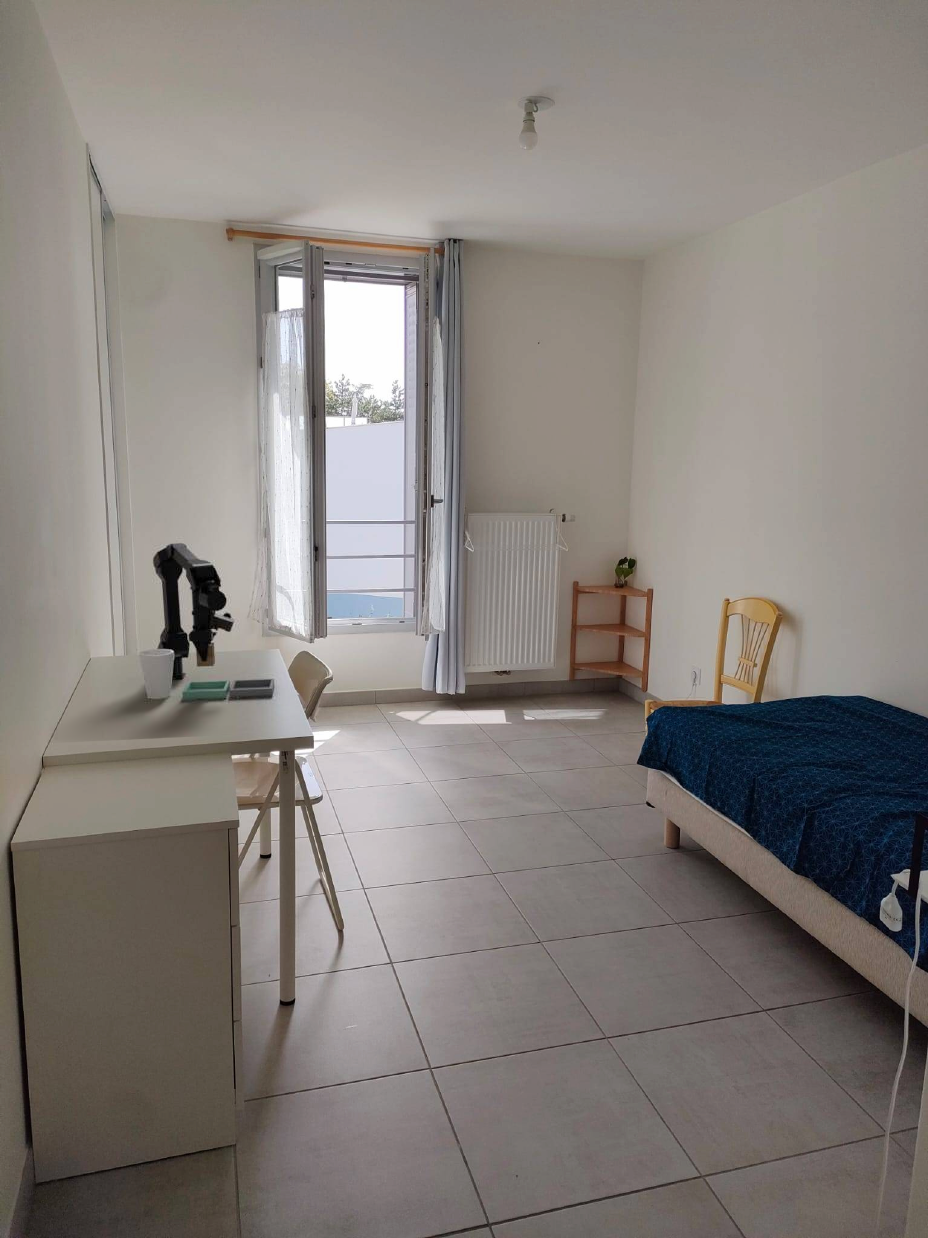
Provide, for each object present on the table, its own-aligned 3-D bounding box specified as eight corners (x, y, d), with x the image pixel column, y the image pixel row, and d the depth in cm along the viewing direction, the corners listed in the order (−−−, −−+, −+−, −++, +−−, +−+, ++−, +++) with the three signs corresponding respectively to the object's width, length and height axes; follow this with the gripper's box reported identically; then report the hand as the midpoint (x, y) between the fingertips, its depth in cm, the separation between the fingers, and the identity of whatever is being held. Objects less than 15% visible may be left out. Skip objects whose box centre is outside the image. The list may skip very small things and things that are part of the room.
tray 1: (188, 690, 262) (188, 681, 262) (230, 688, 264) (229, 680, 263) (182, 700, 250) (182, 692, 250) (226, 698, 252) (225, 690, 252)
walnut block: (199, 663, 257) (198, 643, 256) (214, 662, 258) (213, 642, 257) (197, 666, 253) (195, 646, 252) (213, 666, 254) (212, 645, 253)
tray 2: (233, 688, 264) (233, 680, 264) (274, 686, 266) (274, 678, 265) (229, 698, 252) (229, 690, 252) (272, 696, 254) (272, 688, 254)
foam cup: (181, 692, 259) (179, 649, 257) (168, 700, 250) (165, 656, 248) (150, 691, 260) (148, 648, 258) (136, 699, 251) (133, 655, 249)
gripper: (228, 611, 245) (231, 665, 248) (234, 601, 263) (236, 652, 266) (187, 612, 243) (190, 667, 246) (196, 601, 261) (198, 653, 264)
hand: (205, 659), depth 255 cm, fingers closed on walnut block, 4 cm apart
